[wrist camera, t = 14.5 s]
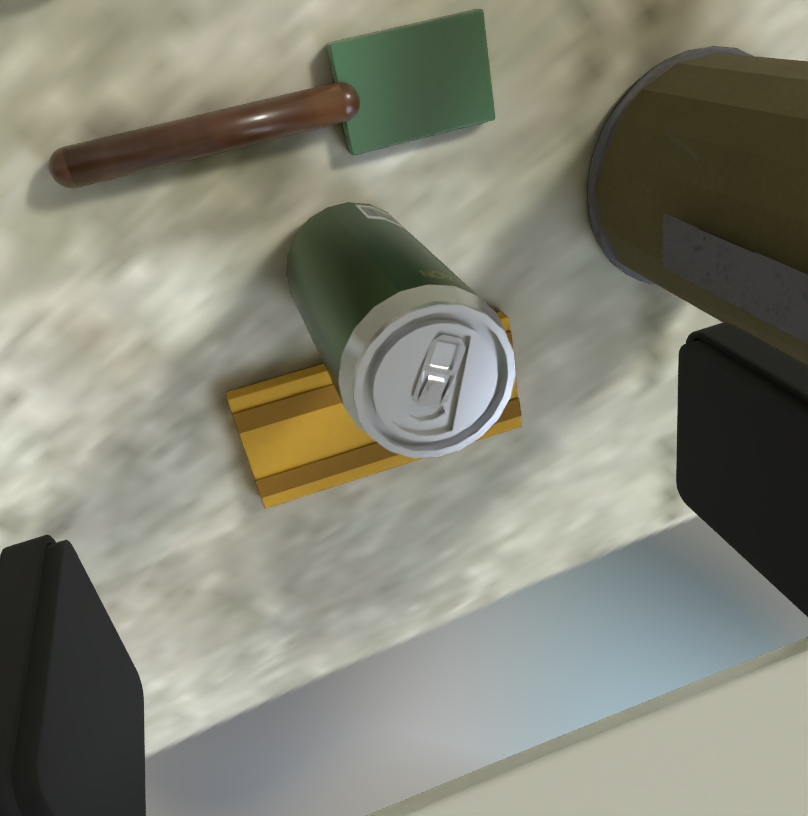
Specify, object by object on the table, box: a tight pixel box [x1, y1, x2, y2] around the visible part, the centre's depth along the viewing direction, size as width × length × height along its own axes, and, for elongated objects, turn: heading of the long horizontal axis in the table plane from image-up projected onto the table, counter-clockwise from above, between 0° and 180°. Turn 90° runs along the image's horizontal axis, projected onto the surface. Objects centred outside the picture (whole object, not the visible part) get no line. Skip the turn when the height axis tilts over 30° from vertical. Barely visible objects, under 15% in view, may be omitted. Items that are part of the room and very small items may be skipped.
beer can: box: [286, 202, 516, 458], centre depth 27 cm, size 5×5×12 cm
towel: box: [226, 311, 521, 508], centre depth 36 cm, size 13×6×1 cm, turn 100°
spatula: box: [49, 9, 495, 188], centre depth 28 cm, size 17×4×1 cm, turn 100°
